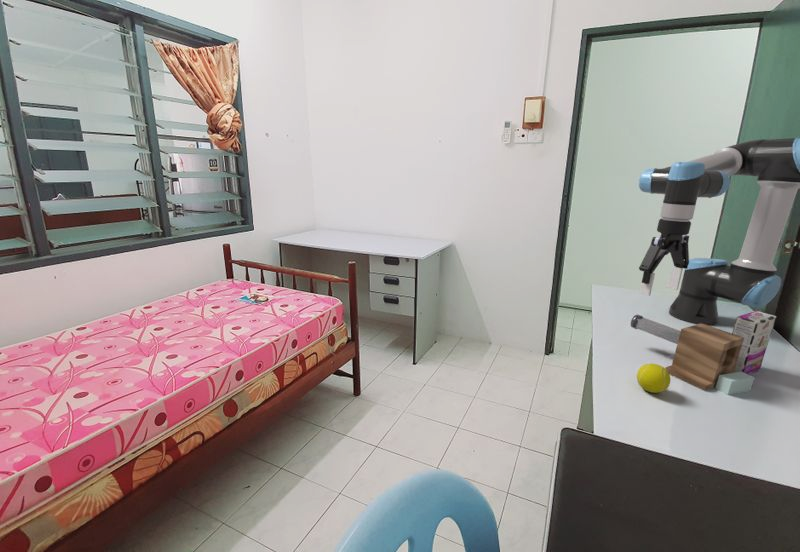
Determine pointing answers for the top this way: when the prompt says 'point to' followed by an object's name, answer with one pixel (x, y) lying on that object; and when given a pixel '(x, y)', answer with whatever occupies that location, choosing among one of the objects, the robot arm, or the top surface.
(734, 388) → the block
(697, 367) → the bearing block
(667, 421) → the top surface
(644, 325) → the shaft
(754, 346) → the candy bar box
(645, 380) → the tennis ball
